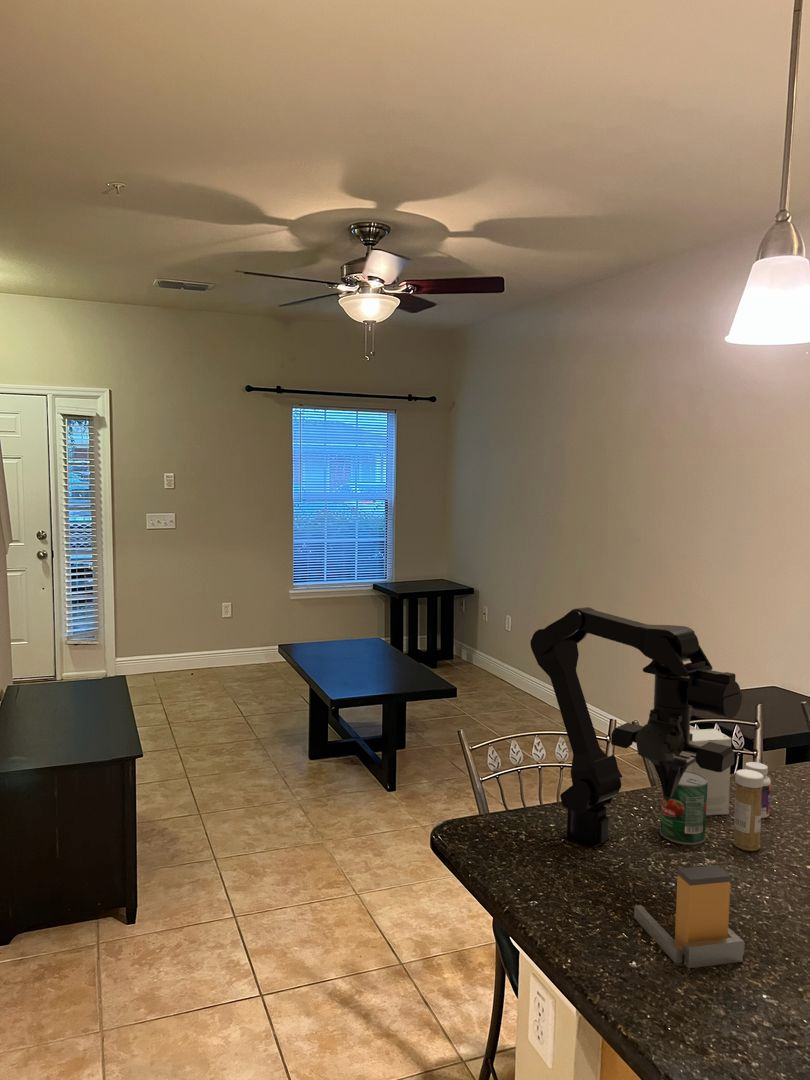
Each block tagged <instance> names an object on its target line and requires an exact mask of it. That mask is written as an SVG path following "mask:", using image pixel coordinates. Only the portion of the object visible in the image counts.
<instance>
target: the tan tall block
mask: <svg viewBox="0 0 810 1080" xmlns="http://www.w3.org/2000/svg"><path fill="white" fill-rule="evenodd" d="M731 876H732V875H730V874H729V873H727V871H725V870H724V869H723V868H721V867H720V866H719V865H718V864H715V865H714V864H713V865H703V866H694V867H684V868H677V880H676V881H677V882H676V883H677V884H676V901H675V902H676V903H675V905H676V906H675V926H674V927H675V929H674V940H675V941H676V942H677V944H678V945H679V946H680V947H681V948H682V949H683V955H684V951H685V943H688V942H697V941H705V940H714V939H723V938H728V927H729V921H730V920H729V919H730V900H731V897H730V896H731V879H732V878H731Z"/></svg>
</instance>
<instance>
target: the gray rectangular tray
mask: <svg viewBox="0 0 810 1080" xmlns="http://www.w3.org/2000/svg"><path fill="white" fill-rule="evenodd" d="M633 919H635V920H636V921H637V922H638V924H639V925H640V926H641V927H642V928H643V930H644V931H645V932H647V934H648V935H649V936H650V937H651V938H652V939H653V940H654V942H656V944H657V945H658V946H659V947H660V948H661V950H663V951H664V952H665V954H667V956H668V957H669V958H670V960H672V962H673V963H674V964H675V965H677V964H684V965H685V967H687V969H693V968H703V967H709V966H710V967H712V966H718V965H725V964H726V965H727V964H735V963H743V958H744V957H743V956H745V945H746V944H745V943H746V942H745V941H744V940H743V939H742V938H741V937H740V936H739V935H738V934H736V933H735V932H734V931H733V930H732V929H731V928H730V927H729V926H728V938H723V939H714V940H705V941H697V942H688V943H685V951H684V954H683V949H682V948H681V947H680V946H679V945H678V944H677V942H676V941H675V938H673V937H672V936H671V935H670V934H669V933H668V932H667V931H666V929H665V928H664V927H662V926H661V924H660V923H659V922H658V921H657V920H656V919H655V918H654V917H653V916H652V915H651V914H650V913H649V912H648V910H646V909H645V907H644V906H643V905H641V904H636V905H634V913H633Z"/></svg>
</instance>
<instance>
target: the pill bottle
mask: <svg viewBox="0 0 810 1080" xmlns="http://www.w3.org/2000/svg"><path fill="white" fill-rule="evenodd" d="M744 769H746V770H753V771H757V772H759V773H761V774H762V775H763V777H764V782H763V786H762V795H761V796H762V797H761V819H765V818H768V817H769V816H770V810H771V809H770V808H771V807H770V806H771V789H772V782H771V778H770V777H769V776H767V775H768V773H769V772H768V770H769V768H768V765H766V764H764V763H762V762H756V761H748V762H746V763H745V767H744Z"/></svg>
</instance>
